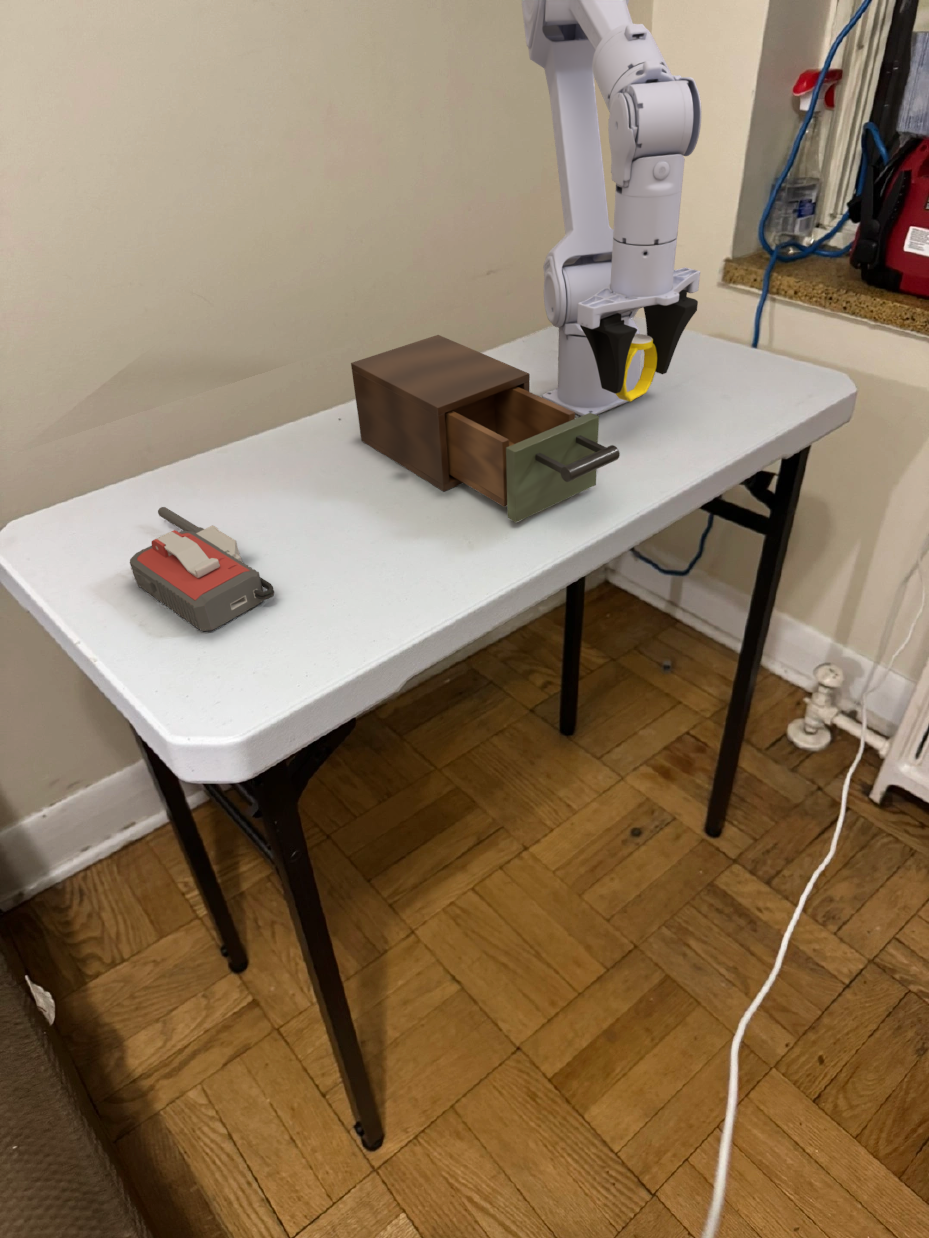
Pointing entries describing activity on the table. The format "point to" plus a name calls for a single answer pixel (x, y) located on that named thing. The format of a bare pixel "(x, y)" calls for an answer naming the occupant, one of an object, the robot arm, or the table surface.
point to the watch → (648, 370)
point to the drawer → (524, 450)
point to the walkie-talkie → (198, 574)
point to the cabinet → (424, 400)
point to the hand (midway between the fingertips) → (634, 380)
